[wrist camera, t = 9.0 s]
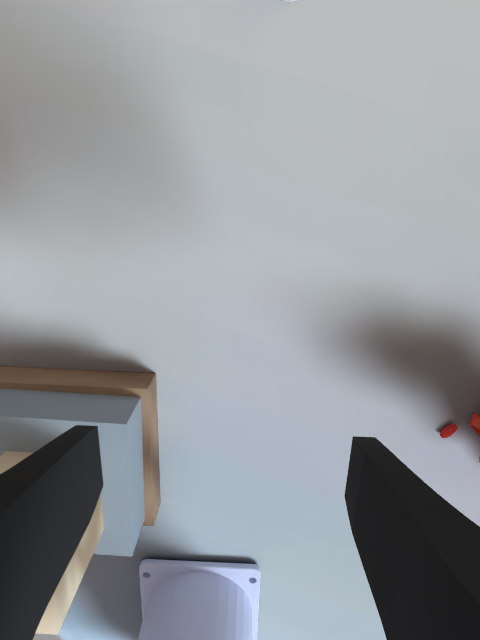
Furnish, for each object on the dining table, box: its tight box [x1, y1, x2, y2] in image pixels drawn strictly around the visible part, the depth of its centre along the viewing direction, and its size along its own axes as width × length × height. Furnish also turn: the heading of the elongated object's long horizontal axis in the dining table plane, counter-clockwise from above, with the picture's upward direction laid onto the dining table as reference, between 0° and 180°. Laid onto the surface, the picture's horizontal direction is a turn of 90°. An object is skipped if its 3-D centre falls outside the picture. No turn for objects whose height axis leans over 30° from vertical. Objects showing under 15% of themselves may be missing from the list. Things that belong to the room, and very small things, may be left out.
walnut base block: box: [0, 366, 161, 526], centre depth 23 cm, size 9×9×2 cm
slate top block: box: [0, 388, 145, 557], centre depth 20 cm, size 8×8×2 cm
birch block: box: [0, 451, 104, 635], centre depth 17 cm, size 4×4×5 cm
